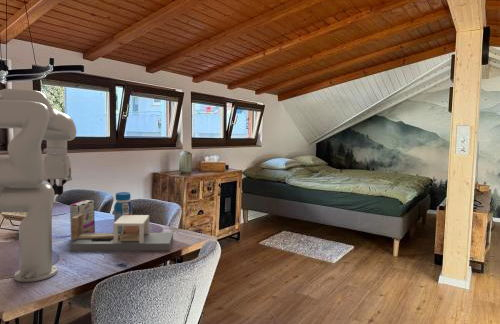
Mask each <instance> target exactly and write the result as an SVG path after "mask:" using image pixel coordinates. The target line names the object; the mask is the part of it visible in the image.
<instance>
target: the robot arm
mask: <svg viewBox="0 0 500 324" xmlns="http://www.w3.org/2000/svg"><path fill="white" fill-rule="evenodd" d="M0 129H21V130H20V132H18V133H17V134H16V135H15V136H14V137H13V138H12V139H11V140H10V141H9V143H8V145H7V151H8V156H5V155H4V156H0V213H27V214H26V216H25V217H24V218H23V219H22V220H21V221H20V223H19V224H18V247H19V248H18V251H19V257H18V258H19V270H17V271H16V272H15V273H14V274H13V276H14V277H13V278H14V280H15V281H18V282H22V283H27V282H30V283H31V282H32V283H33V282H38V281H43V280H46V279H49V278H51V277H53V276H55V275H56V274H57V273H58V267H57V266H56V265H53V225H52V223H53V221H52V220H53V219H52V218H53V209H54V208H53V207H54V201H55V196H56V195H57V196H61V195H63V193H64V185H65V184H66V183H67V182H70V181H72V180H73V178H72V165H71V159H70V154H68V141H72V140H74V139H75V138H76V137H77V127H76V124H75V123H74V120H73V119H72V117H71V116H69V115H68V114H66V113H63V112H61V111H59V110H57V109H54V108H53V106H52V105H51V103H50V100H49V99H48V97H47V96H46V95H45V94H44V93H43V92H41V91H38V90H35V89H34V90H33V89H22V88H21V89H20V88H3V89H0ZM43 141H46V148H44V149H43V151H42V143H43ZM42 152H44V153H46V154H45V155H44V157H43V154H42ZM57 180H58V184H57ZM43 182H48V183H49V184H50V185H49V184H48V183H43Z"/></svg>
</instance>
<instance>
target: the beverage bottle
mask: <svg viewBox="0 0 500 324" xmlns="http://www.w3.org/2000/svg"><path fill="white" fill-rule="evenodd" d="M130 200H131V192H127V191H122V192H120V191H119V192H115V204H114V206H113V208H114V210H113V217H114V220H113V221H114V222H113V224H114V223H115V222H116V221H117V220H118V219H119V218H120V217H121V216H122V215H133V209H132V206H133V205H132V203H131V202H130ZM118 233H122V226H118Z"/></svg>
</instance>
